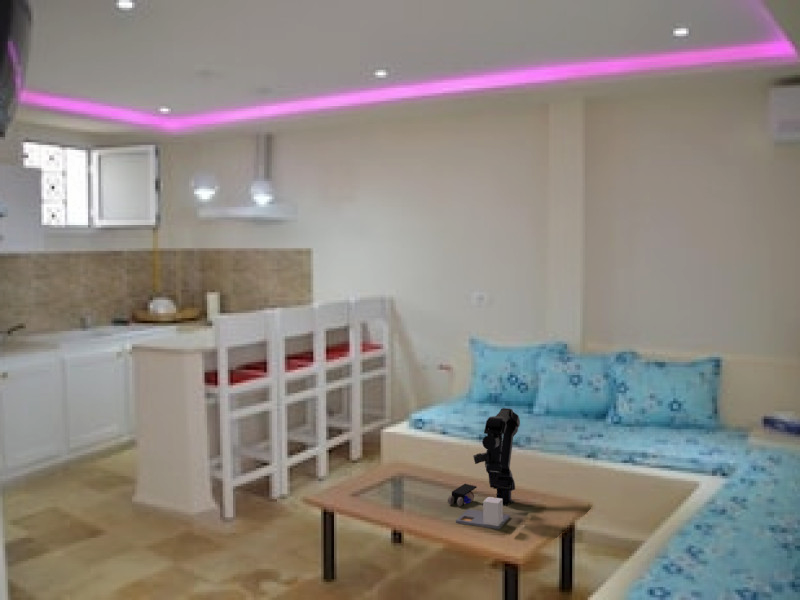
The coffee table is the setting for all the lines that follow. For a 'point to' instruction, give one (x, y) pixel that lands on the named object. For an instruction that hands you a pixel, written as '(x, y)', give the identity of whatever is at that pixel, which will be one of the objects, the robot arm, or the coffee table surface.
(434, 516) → the coffee table surface
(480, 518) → the socket plate
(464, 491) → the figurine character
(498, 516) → the pale grey block
